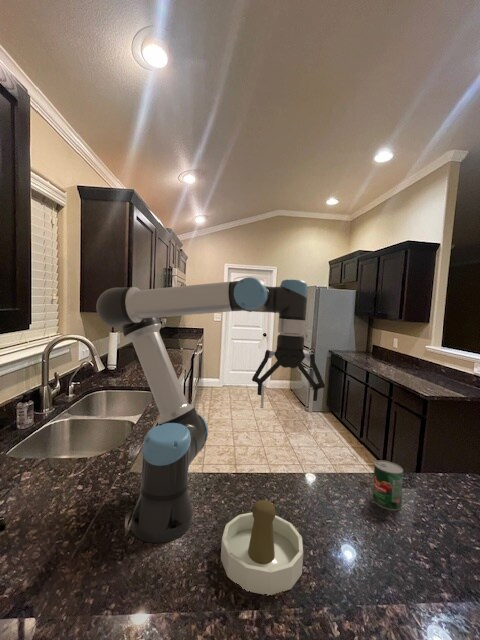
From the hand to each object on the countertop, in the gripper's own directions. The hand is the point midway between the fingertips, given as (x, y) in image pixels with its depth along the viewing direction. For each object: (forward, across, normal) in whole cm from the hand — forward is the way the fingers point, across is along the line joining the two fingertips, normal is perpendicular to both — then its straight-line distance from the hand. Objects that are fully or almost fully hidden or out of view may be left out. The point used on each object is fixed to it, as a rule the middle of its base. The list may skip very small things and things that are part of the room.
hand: (285, 409), depth 84 cm
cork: (+28, +4, +18) cm, 33 cm away
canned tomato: (+28, -33, -11) cm, 45 cm away
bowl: (+28, +4, +18) cm, 34 cm away
